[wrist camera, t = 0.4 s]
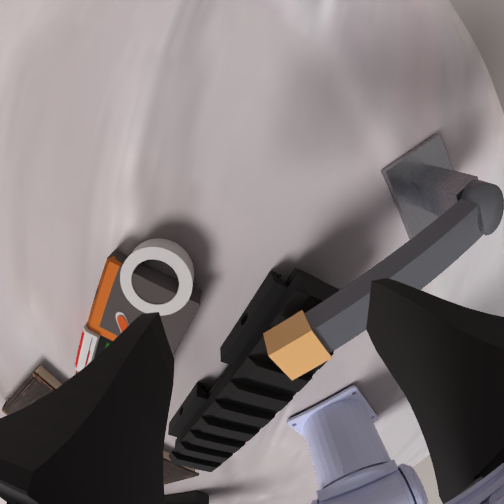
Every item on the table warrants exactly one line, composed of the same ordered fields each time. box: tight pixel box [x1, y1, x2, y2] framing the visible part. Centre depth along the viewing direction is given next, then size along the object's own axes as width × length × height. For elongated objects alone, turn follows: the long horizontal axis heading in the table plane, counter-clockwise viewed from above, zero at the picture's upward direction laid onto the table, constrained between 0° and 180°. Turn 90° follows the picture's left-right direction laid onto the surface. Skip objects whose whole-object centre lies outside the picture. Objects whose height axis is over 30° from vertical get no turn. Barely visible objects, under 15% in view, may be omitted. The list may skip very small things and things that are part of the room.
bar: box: [263, 179, 504, 380], centre depth 13 cm, size 3×16×2 cm, turn 124°
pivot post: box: [381, 134, 478, 239], centre depth 16 cm, size 6×6×5 cm
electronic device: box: [75, 238, 201, 374], centre depth 19 cm, size 7×3×15 cm
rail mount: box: [168, 268, 339, 472], centre depth 21 cm, size 21×6×5 cm, turn 150°
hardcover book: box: [2, 365, 199, 484], centre depth 26 cm, size 16×23×2 cm
